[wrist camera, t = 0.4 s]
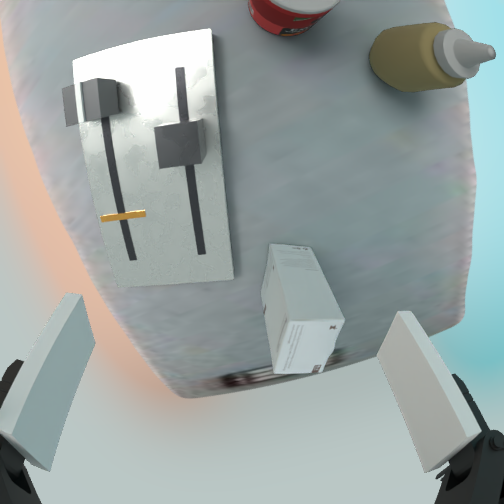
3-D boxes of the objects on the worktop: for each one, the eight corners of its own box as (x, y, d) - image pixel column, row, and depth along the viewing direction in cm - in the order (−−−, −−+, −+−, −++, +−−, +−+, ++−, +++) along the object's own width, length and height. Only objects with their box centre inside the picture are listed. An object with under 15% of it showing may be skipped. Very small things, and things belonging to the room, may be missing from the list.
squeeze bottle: (347, 51, 28) (435, 23, 12) (390, 22, 26) (486, -7, 10) (386, 103, 31) (487, 120, 16) (426, 73, 29) (529, 78, 13)
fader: (84, 88, 26) (60, 88, 21) (115, 79, 26) (95, 76, 21) (88, 122, 28) (64, 127, 23) (119, 114, 28) (99, 117, 23)
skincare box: (268, 241, 40) (286, 316, 26) (313, 246, 40) (348, 318, 27) (259, 294, 43) (270, 376, 30) (300, 297, 44) (324, 375, 31)
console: (82, 62, 27) (49, 57, 20) (212, 33, 27) (206, 15, 20) (122, 277, 41) (105, 311, 34) (233, 269, 41) (234, 305, 34)
